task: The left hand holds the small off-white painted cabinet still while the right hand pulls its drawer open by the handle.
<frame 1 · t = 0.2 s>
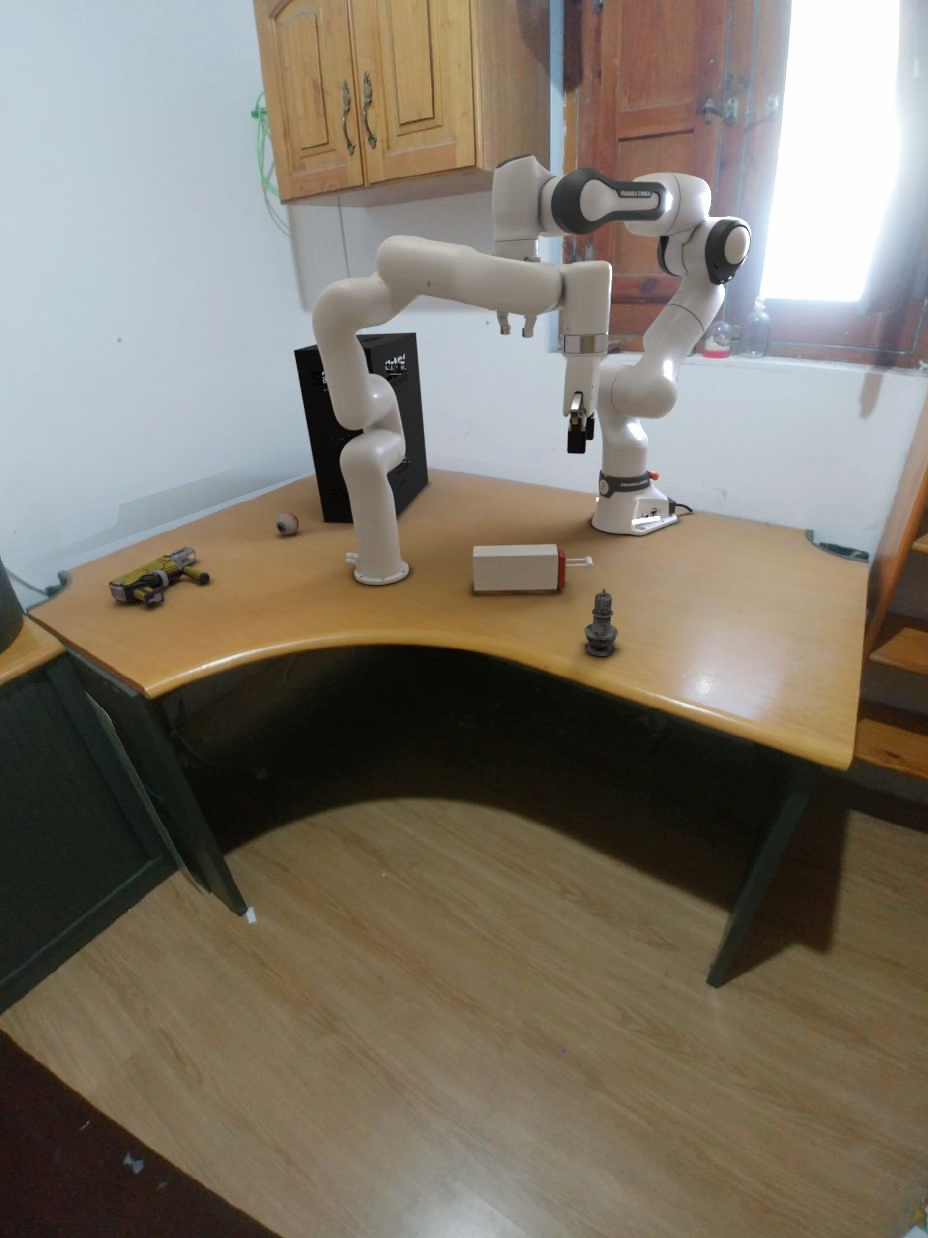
left hand: (580, 446, 111), 31 cm above the table, tool pointing down, fingers open, 9 cm apart
right hand: (516, 336, 125), 48 cm above the table, tool pointing down, fingers open, 8 cm apart
toy gun: (176, 585, 141), on the table
eyeball: (289, 534, 165), on the table
cabinet: (515, 588, 131), on the table
dark grey chess piece: (599, 648, 108), on the table
drawer: (539, 569, 128), point 4 cm above the table, slide at 0.5 cm
black computer case: (380, 500, 186), on the table
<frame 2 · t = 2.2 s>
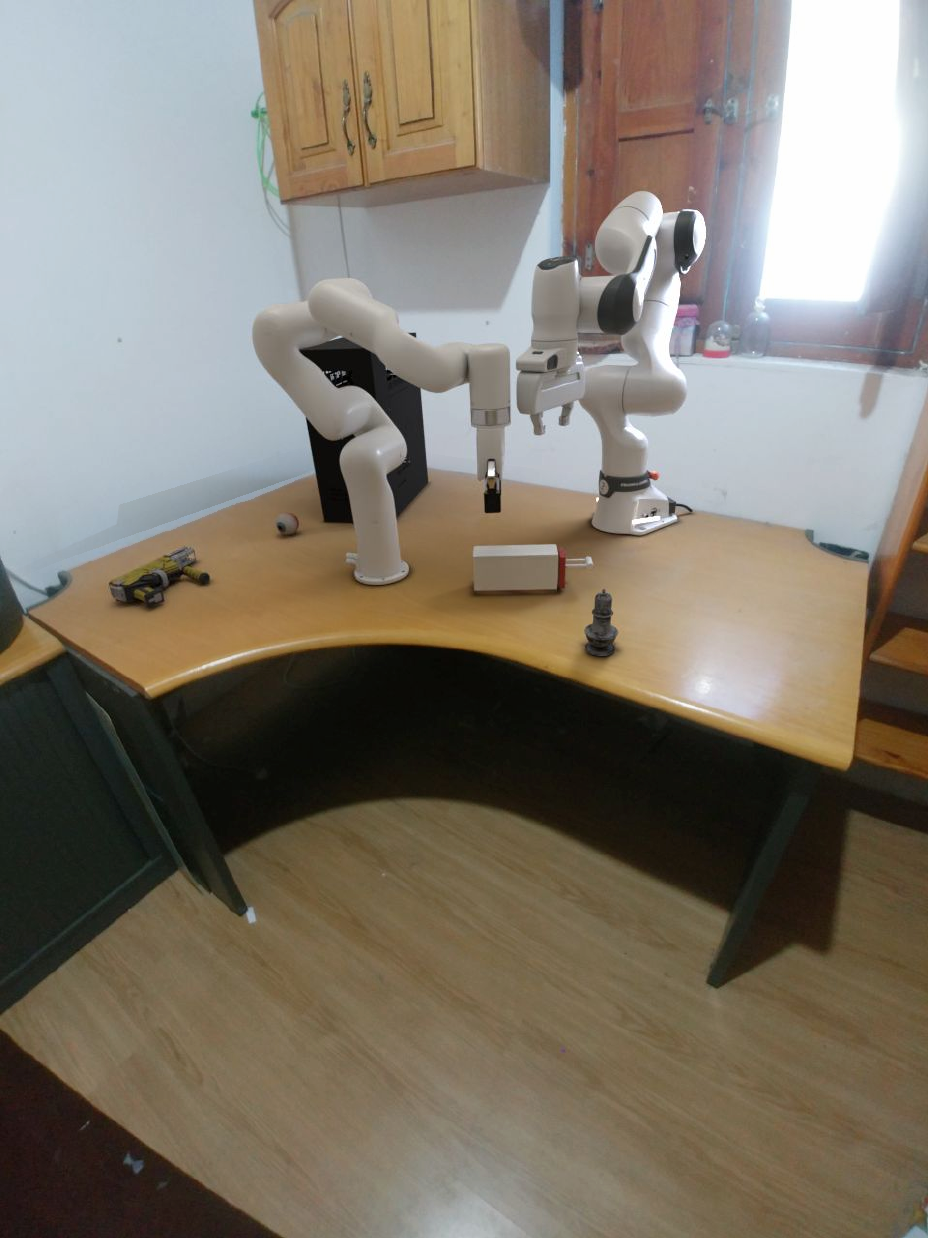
left hand: (493, 503, 121), 19 cm above the table, tool pointing down, fingers open, 9 cm apart
right hand: (552, 429, 122), 31 cm above the table, tool pointing down, fingers open, 8 cm apart
nothing on the table moved.
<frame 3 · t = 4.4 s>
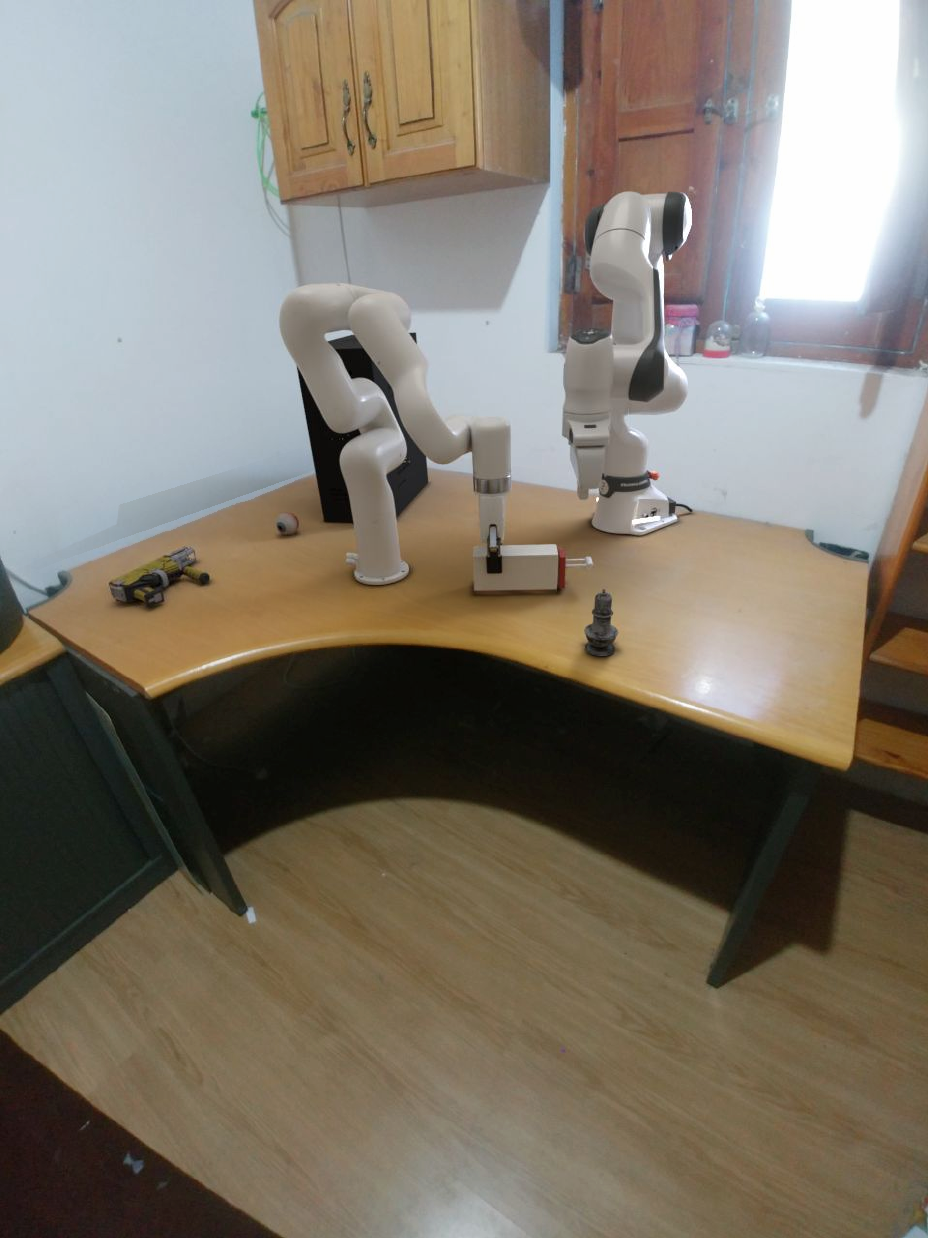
left hand: (494, 565, 128), 6 cm above the table, tool pointing down, fingers closed on cabinet, 5 cm apart
right hand: (582, 496, 120), 20 cm above the table, tool pointing down, fingers closed
cabinet: (515, 588, 131), on the table, touching left hand
everything else where it was.
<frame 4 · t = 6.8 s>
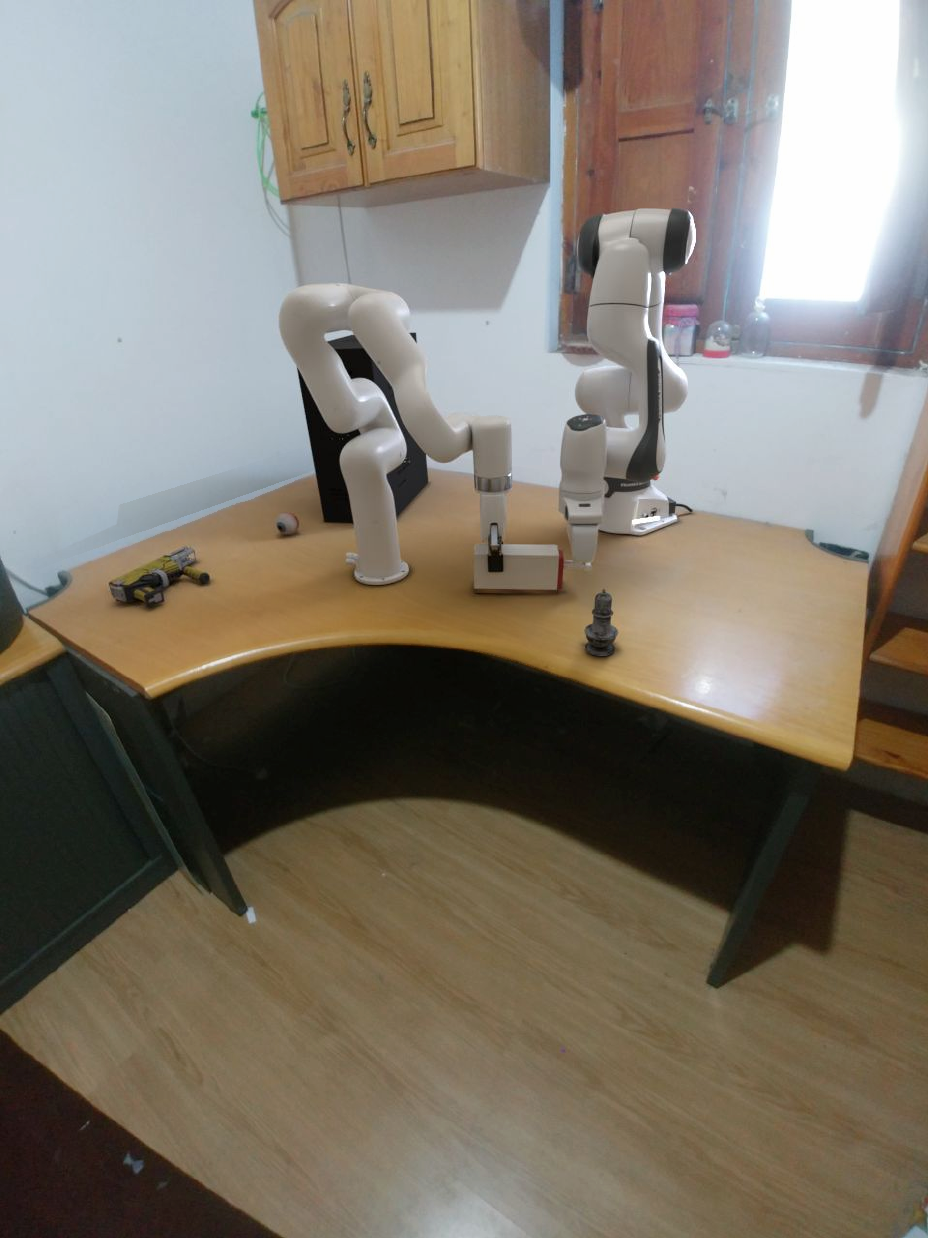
left hand: (495, 564, 128), 6 cm above the table, tool pointing down, fingers closed on cabinet, 5 cm apart
right hand: (577, 566, 126), 5 cm above the table, tool pointing down, fingers closed, pressing on drawer
cabinet: (515, 587, 131), on the table, touching left hand
drawer: (537, 569, 128), point 5 cm above the table, slide at -0.1 cm, touching right hand
everything else where it was.
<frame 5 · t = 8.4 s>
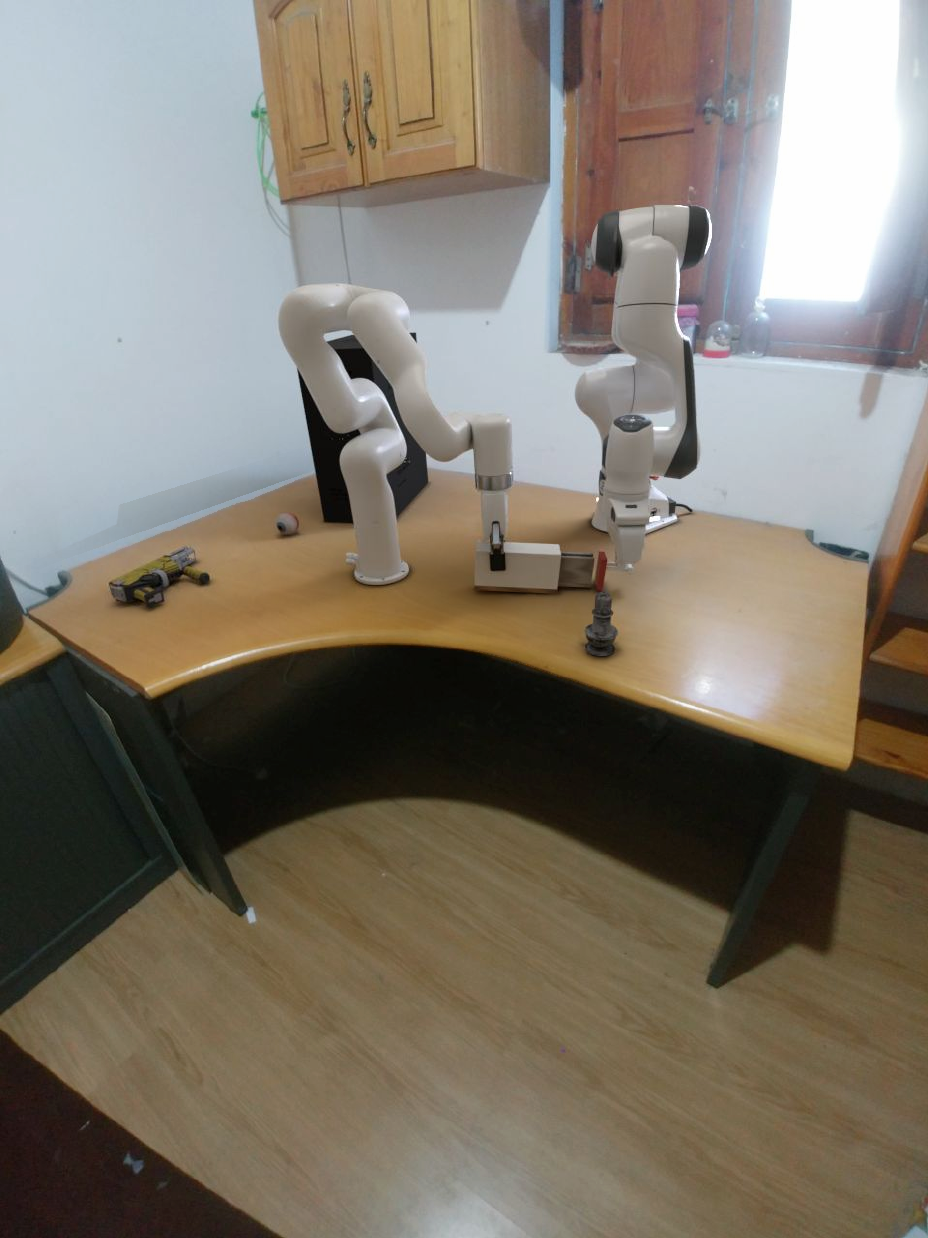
left hand: (498, 563, 128), 6 cm above the table, tool pointing down, fingers closed on cabinet, 5 cm apart
right hand: (619, 566, 126), 5 cm above the table, tool pointing down, fingers closed, pressing on drawer
cabinet: (515, 585, 130), point 1 cm above the table, touching left hand
drawer: (578, 569, 127), point 4 cm above the table, slide at 8.4 cm, touching right hand
everything else where it was.
when the left hand's fingers open (6 cm above the table, at t = 9.8 s): cabinet stays where it is, on the table.
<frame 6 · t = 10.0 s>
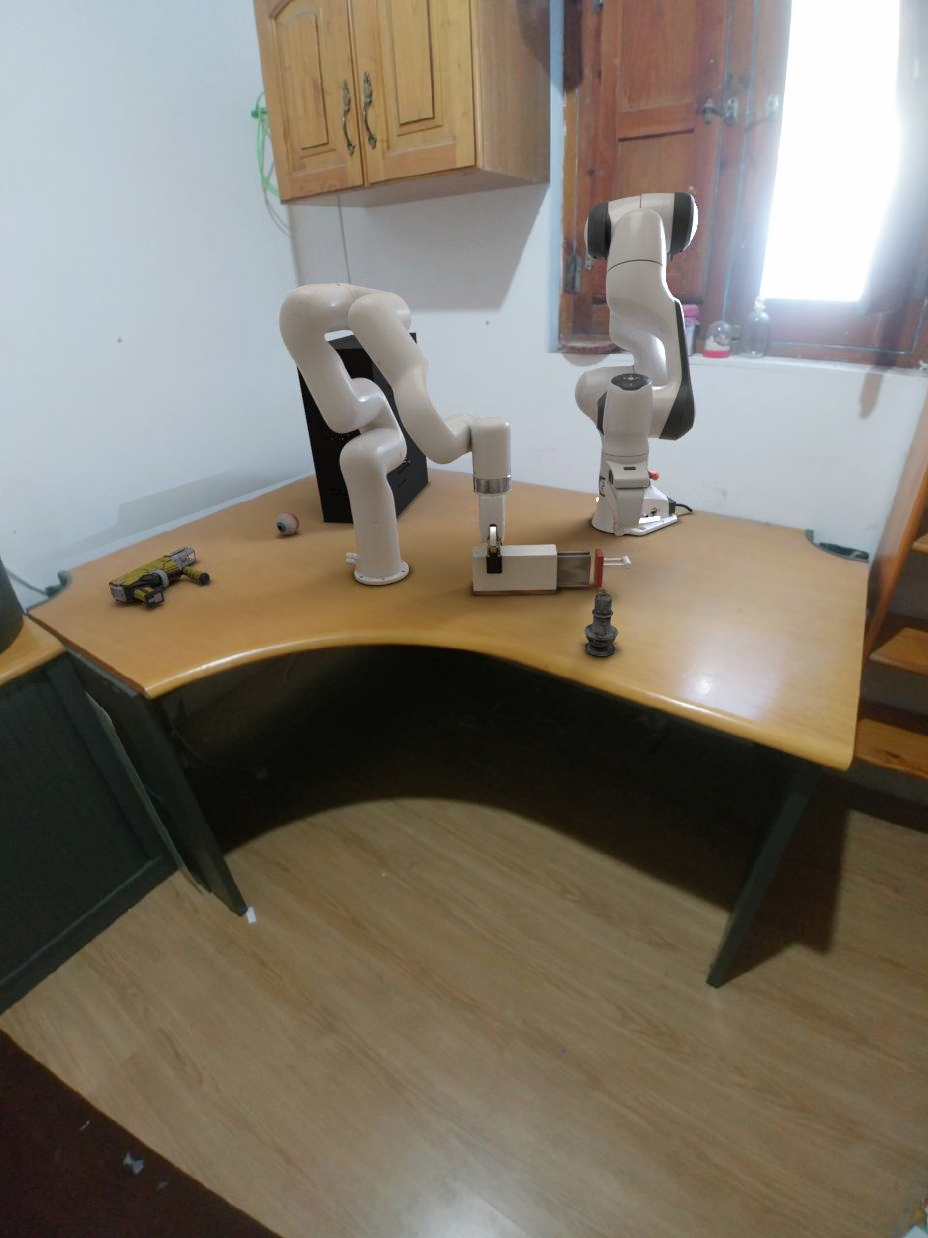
left hand: (494, 564, 128), 6 cm above the table, tool pointing down, fingers open, 7 cm apart
right hand: (618, 532, 123), 12 cm above the table, tool pointing down, fingers closed
cabinet: (514, 588, 130), on the table
drawer: (576, 568, 127), point 4 cm above the table, slide at 8.4 cm
everything else where it was.
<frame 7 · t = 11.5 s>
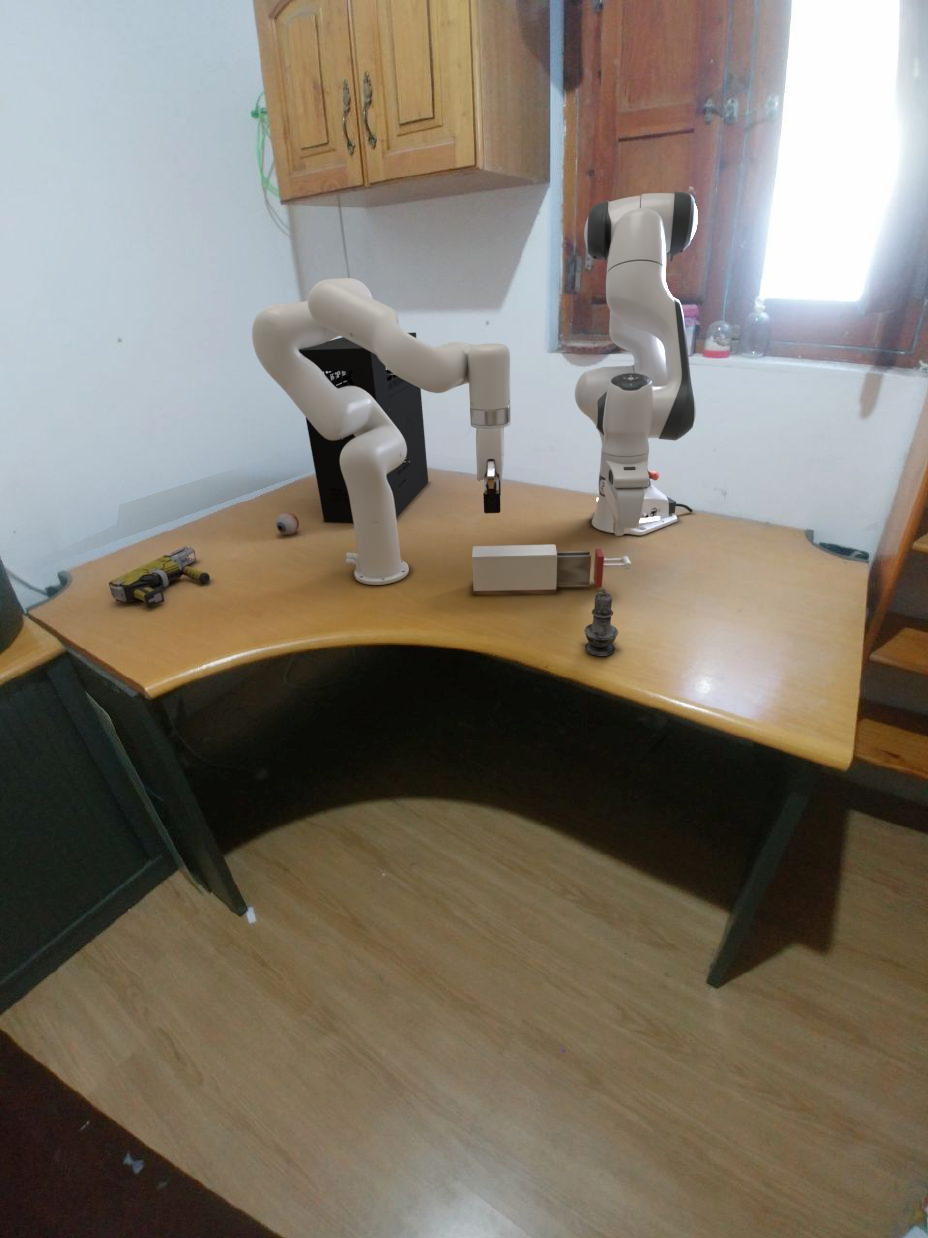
left hand: (492, 504, 121), 19 cm above the table, tool pointing down, fingers open, 9 cm apart
right hand: (618, 532, 123), 12 cm above the table, tool pointing down, fingers closed
nothing on the table moved.
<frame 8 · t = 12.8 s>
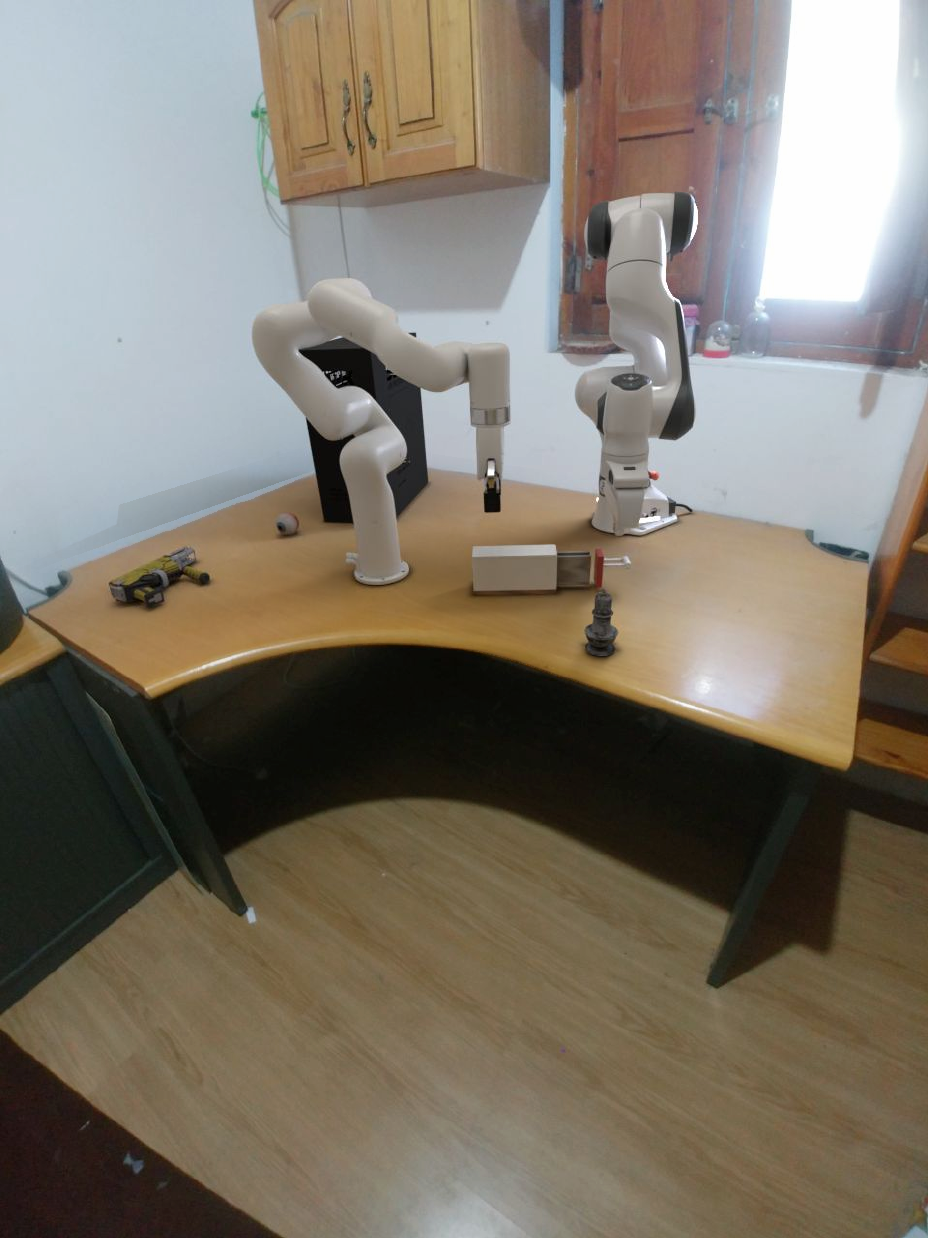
left hand: (492, 503, 121), 19 cm above the table, tool pointing down, fingers open, 9 cm apart
right hand: (618, 532, 123), 12 cm above the table, tool pointing down, fingers closed
nothing on the table moved.
at the end: drawer slide at 8.4 cm; cabinet tilted 0°; cabinet never tilted more than 5° during the clip; cabinet moved 0.2 cm from its start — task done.
